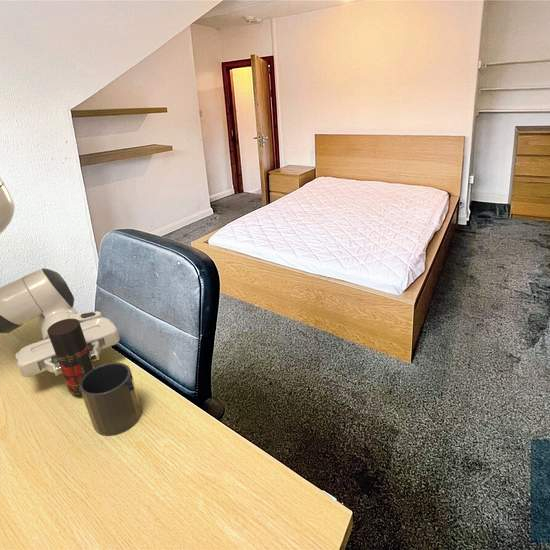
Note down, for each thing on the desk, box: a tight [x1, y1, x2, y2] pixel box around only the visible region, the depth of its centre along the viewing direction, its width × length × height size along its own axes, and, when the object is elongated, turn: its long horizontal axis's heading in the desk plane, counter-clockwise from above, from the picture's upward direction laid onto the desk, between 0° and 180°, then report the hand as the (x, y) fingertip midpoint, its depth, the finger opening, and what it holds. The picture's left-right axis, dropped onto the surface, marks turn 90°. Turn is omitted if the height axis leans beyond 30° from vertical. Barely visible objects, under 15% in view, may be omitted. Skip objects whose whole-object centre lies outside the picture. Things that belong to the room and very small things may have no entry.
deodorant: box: [47, 319, 95, 396], centre depth 84 cm, size 6×6×15 cm
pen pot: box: [79, 362, 142, 437], centre depth 78 cm, size 9×9×10 cm
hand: (77, 364), depth 84 cm, fingers closed on deodorant, 6 cm apart
